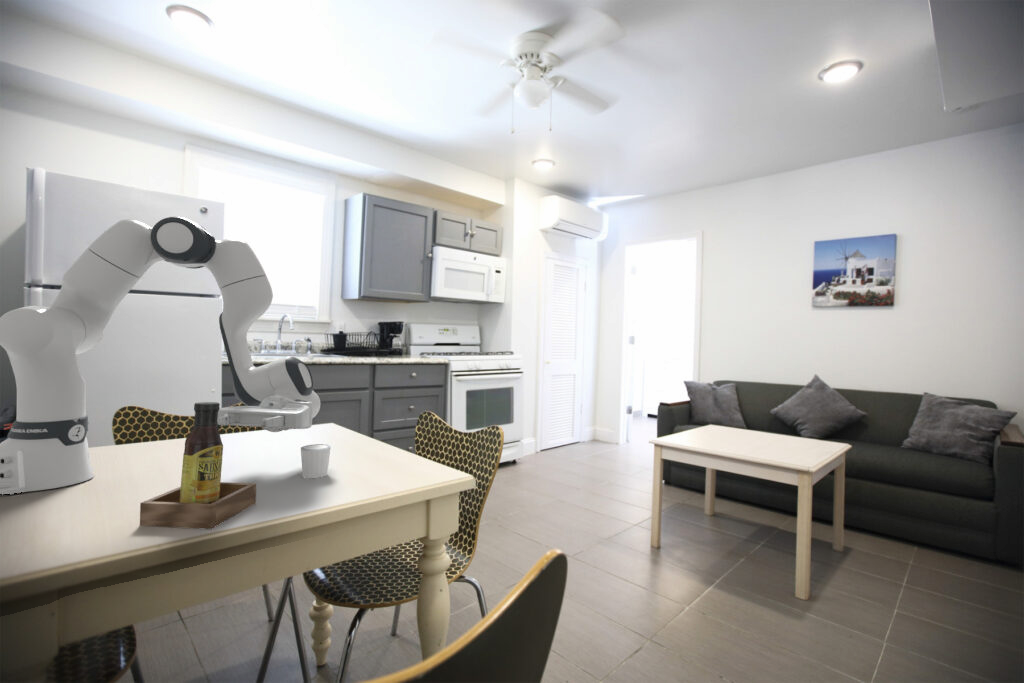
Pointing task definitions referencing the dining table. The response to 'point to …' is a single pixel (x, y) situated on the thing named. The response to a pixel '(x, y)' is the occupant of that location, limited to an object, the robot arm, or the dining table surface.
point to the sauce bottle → (202, 457)
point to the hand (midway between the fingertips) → (243, 422)
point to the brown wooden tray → (197, 508)
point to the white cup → (315, 460)
